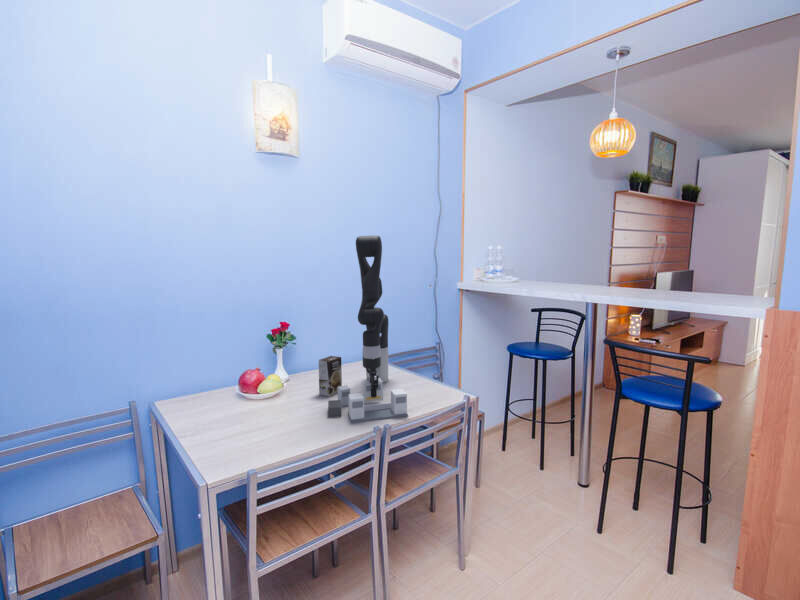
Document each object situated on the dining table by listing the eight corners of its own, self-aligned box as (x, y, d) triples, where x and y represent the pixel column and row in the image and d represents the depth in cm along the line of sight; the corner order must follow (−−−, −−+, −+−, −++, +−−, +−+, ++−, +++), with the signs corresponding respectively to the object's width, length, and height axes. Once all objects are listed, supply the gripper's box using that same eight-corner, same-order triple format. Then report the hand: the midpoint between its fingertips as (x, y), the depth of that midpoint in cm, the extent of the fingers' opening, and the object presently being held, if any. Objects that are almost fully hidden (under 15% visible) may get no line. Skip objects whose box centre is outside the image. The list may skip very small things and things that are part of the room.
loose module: (361, 397, 176) (361, 379, 174) (380, 395, 178) (380, 377, 177) (364, 402, 171) (363, 383, 170) (383, 400, 173) (382, 381, 172)
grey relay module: (337, 402, 177) (337, 386, 176) (346, 400, 179) (346, 385, 178) (341, 406, 173) (341, 390, 172) (350, 404, 174) (350, 388, 173)
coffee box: (330, 397, 184) (329, 361, 182) (318, 394, 187) (317, 359, 185) (342, 390, 192) (341, 356, 190) (331, 388, 195) (330, 355, 193)
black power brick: (328, 410, 170) (328, 400, 169) (341, 409, 170) (340, 399, 170) (328, 417, 162) (328, 408, 161) (341, 416, 162) (341, 407, 162)
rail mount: (348, 413, 165) (347, 392, 164) (401, 407, 171) (401, 387, 170) (351, 422, 156) (351, 400, 155) (407, 416, 162) (407, 394, 161)
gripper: (359, 351, 177) (360, 389, 180) (366, 360, 164) (366, 401, 166) (376, 350, 179) (377, 388, 182) (384, 359, 166) (385, 399, 168)
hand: (372, 394), depth 174 cm, fingers closed on loose module, 5 cm apart
